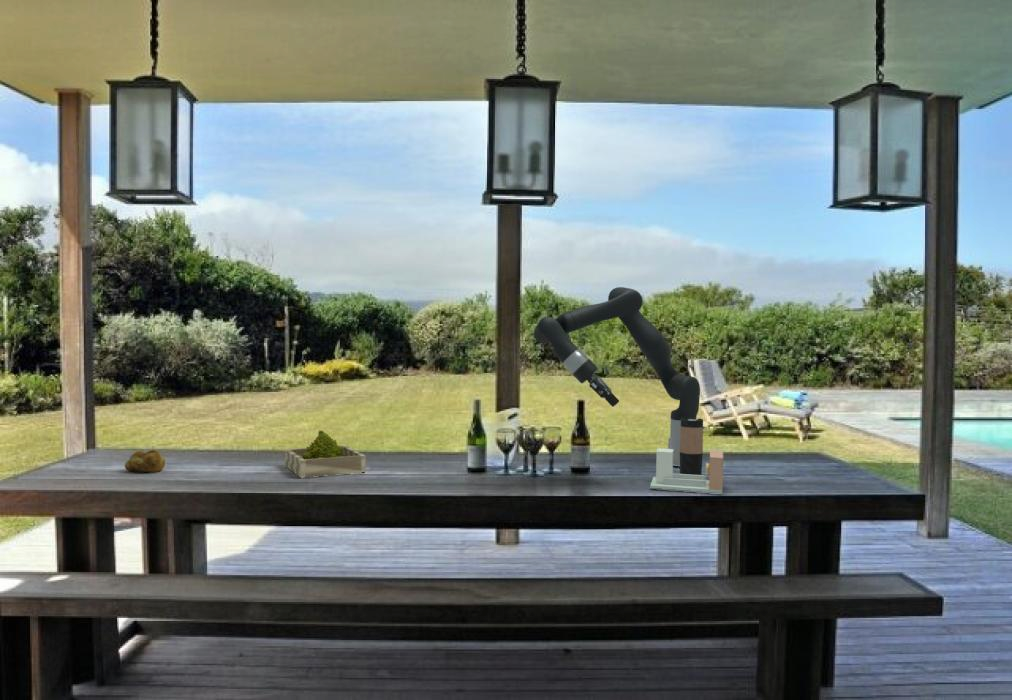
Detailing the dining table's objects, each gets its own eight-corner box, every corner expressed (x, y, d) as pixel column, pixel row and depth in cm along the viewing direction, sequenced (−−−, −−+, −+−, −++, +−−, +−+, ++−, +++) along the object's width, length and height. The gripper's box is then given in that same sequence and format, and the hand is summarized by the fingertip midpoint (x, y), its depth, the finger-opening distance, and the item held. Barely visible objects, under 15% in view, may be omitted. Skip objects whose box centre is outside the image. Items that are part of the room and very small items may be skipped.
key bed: (650, 490, 249) (650, 453, 249) (653, 481, 263) (654, 446, 262) (722, 495, 243) (723, 458, 243) (721, 485, 257) (722, 450, 256)
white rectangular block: (655, 482, 252) (656, 451, 252) (657, 478, 258) (657, 448, 258) (671, 483, 251) (672, 452, 251) (672, 479, 257) (673, 449, 257)
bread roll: (119, 473, 265) (118, 449, 264) (135, 467, 274) (135, 445, 274) (155, 474, 263) (155, 451, 263) (170, 469, 273) (170, 446, 273)
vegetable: (292, 463, 264) (306, 423, 272) (300, 480, 278) (313, 441, 285) (334, 473, 264) (348, 432, 271) (340, 488, 277) (353, 450, 285)
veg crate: (285, 466, 280) (285, 449, 279) (345, 461, 290) (345, 445, 290) (300, 478, 259) (300, 460, 259) (365, 473, 270) (365, 455, 270)
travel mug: (685, 480, 265) (687, 420, 264) (675, 475, 272) (676, 417, 272) (706, 479, 267) (707, 420, 266) (695, 474, 275) (696, 417, 274)
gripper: (584, 359, 253) (622, 398, 250) (591, 357, 266) (627, 394, 264) (568, 375, 254) (605, 414, 252) (575, 372, 268) (610, 409, 265)
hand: (616, 403), depth 258 cm, fingers open, 4 cm apart
